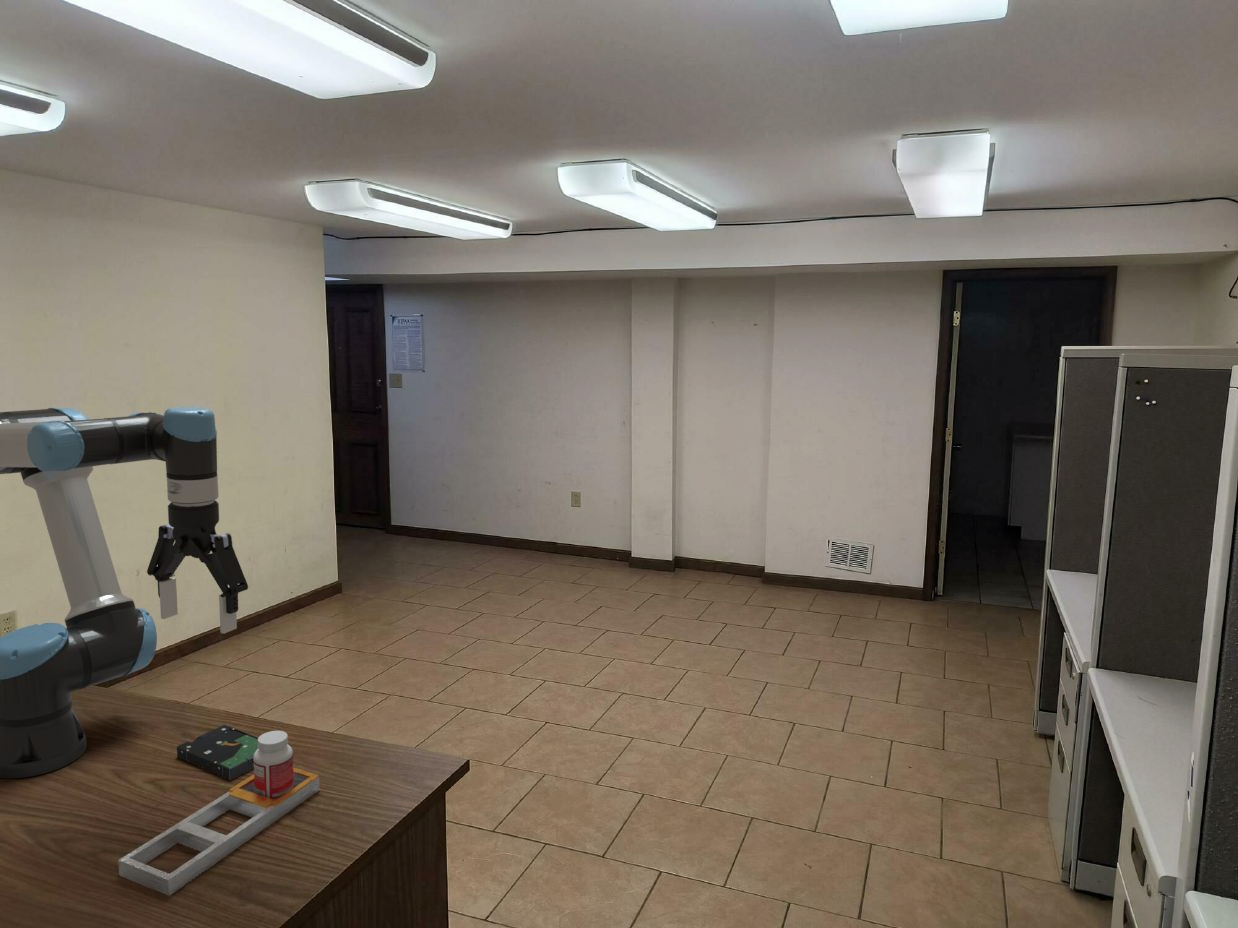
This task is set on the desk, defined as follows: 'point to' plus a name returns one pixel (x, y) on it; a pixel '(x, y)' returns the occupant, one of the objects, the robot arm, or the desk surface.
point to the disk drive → (221, 751)
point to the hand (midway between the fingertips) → (198, 623)
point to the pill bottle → (273, 765)
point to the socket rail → (213, 832)
